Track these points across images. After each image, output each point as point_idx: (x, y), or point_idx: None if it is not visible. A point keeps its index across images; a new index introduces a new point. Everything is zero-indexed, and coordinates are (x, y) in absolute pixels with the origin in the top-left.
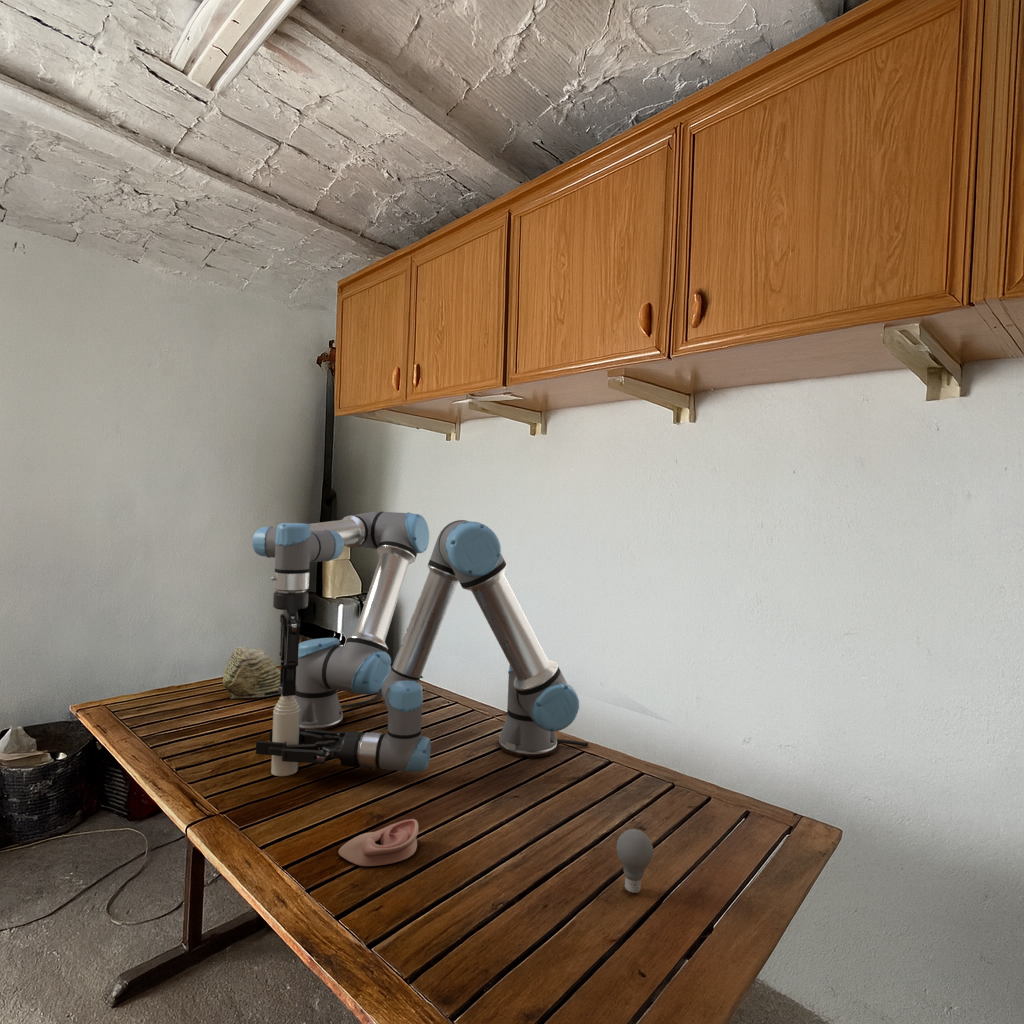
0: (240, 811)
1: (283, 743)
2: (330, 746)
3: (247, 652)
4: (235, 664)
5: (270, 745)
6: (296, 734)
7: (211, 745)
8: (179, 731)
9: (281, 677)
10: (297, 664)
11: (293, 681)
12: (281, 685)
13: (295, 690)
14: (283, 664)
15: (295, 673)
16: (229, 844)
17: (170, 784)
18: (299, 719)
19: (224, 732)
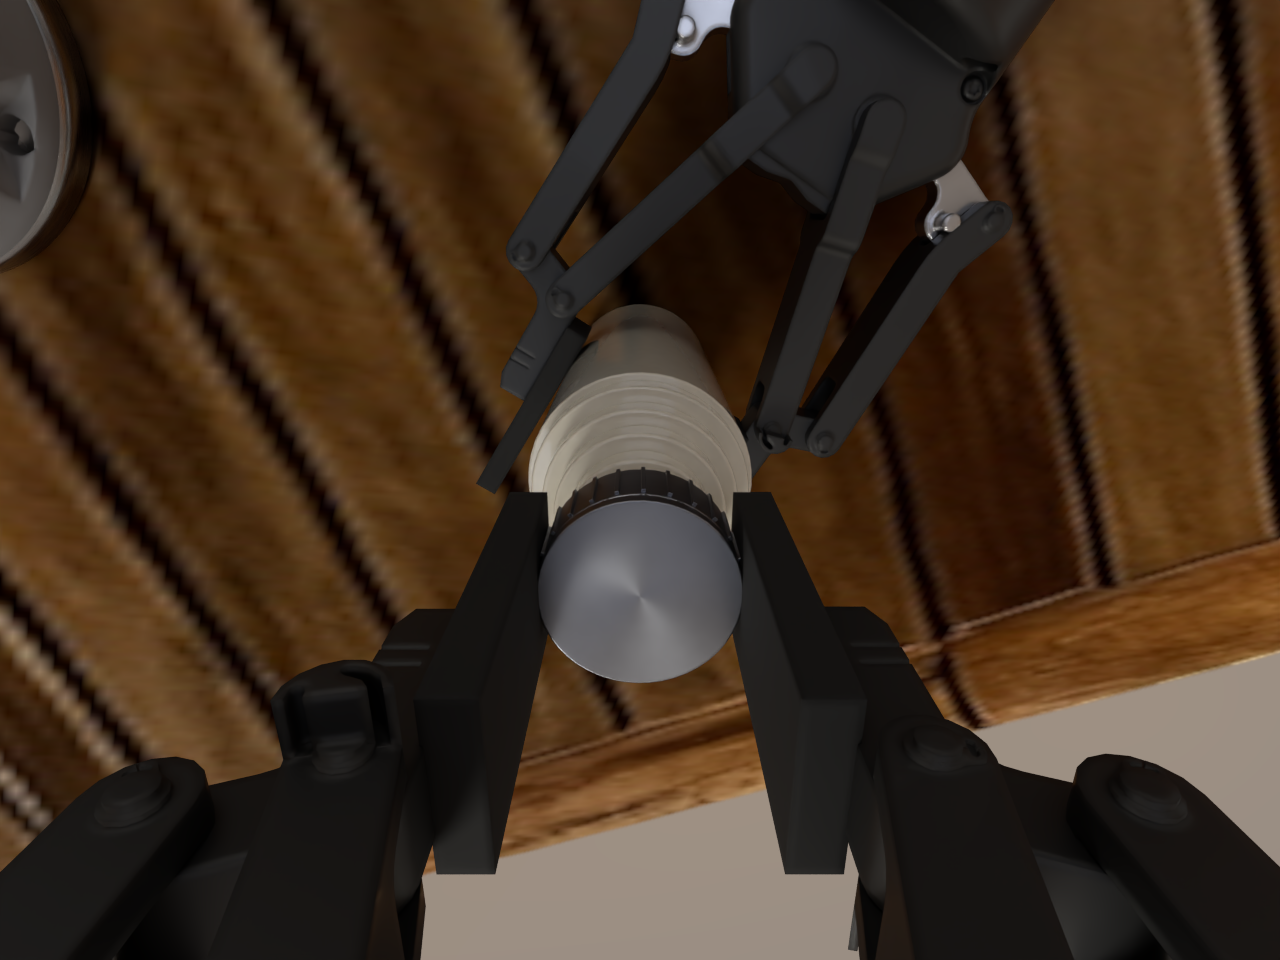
0: (965, 577)
1: (780, 452)
2: (903, 145)
3: None
4: None
5: None
6: (706, 366)
7: (225, 650)
8: (21, 762)
9: (531, 691)
10: (1203, 798)
11: (865, 608)
12: (654, 660)
13: (694, 490)
14: (496, 813)
15: (836, 634)
16: (1192, 622)
17: (610, 779)
18: (675, 361)
19: (49, 593)
